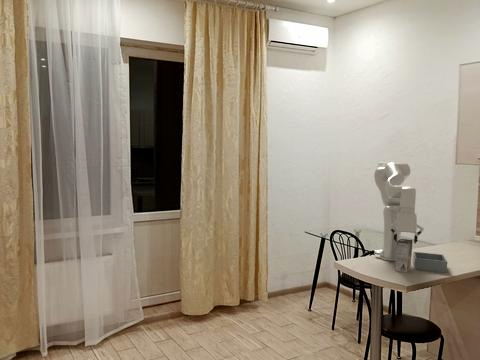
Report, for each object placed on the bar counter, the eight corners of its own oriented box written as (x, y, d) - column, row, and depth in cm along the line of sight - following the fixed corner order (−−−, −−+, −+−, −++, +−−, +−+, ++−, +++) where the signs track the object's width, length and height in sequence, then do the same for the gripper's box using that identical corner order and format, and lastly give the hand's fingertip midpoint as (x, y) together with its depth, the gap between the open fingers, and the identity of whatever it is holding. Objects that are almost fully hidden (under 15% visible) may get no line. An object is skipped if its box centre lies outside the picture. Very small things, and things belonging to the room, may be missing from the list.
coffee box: (398, 266, 244) (400, 238, 242) (410, 268, 240) (413, 239, 239) (394, 270, 236) (396, 241, 234) (407, 272, 233) (409, 242, 231)
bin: (414, 269, 240) (415, 258, 240) (412, 261, 255) (413, 251, 255) (446, 272, 235) (447, 261, 235) (442, 265, 250) (443, 254, 250)
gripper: (390, 210, 234) (388, 242, 235) (425, 212, 229) (423, 245, 230) (389, 208, 241) (388, 239, 242) (424, 210, 236) (422, 242, 237)
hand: (405, 242), depth 236 cm, fingers open, 9 cm apart
